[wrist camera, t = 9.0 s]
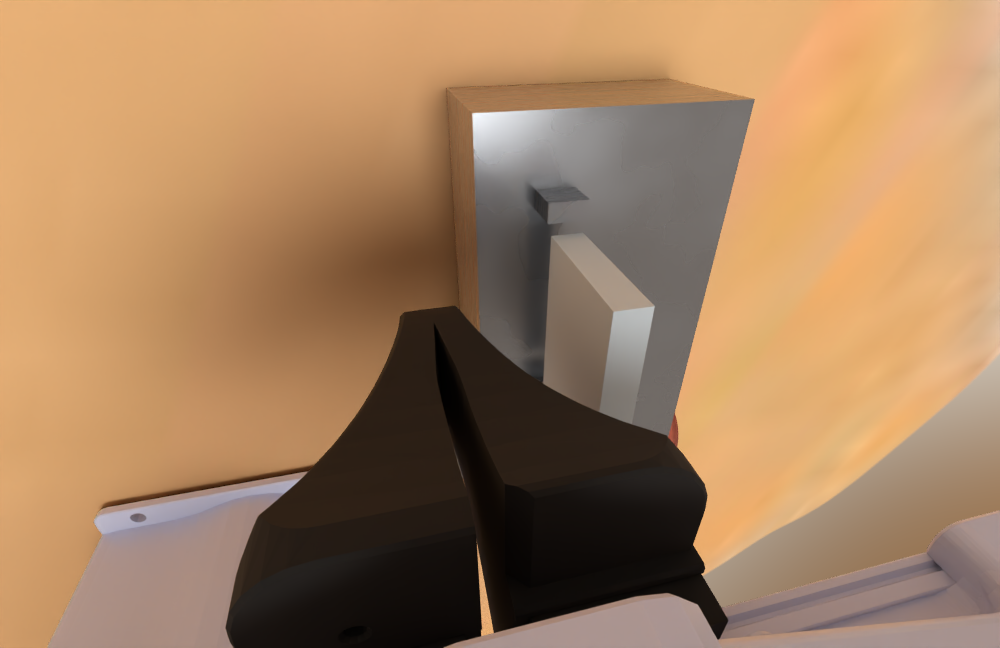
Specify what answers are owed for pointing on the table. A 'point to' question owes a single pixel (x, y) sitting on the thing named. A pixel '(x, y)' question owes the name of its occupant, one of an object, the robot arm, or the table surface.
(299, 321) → the table surface
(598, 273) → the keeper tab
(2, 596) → the table surface
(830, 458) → the table surface
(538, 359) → the block
